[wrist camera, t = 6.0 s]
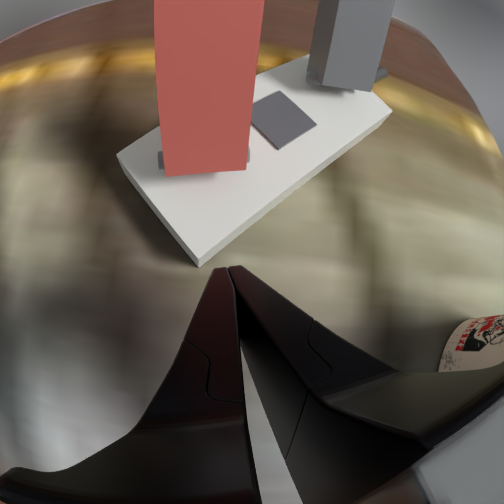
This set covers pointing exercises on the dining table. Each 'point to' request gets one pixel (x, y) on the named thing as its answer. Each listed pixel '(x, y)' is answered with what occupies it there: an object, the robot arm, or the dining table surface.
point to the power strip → (256, 158)
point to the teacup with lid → (474, 345)
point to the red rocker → (205, 82)
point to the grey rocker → (348, 43)
